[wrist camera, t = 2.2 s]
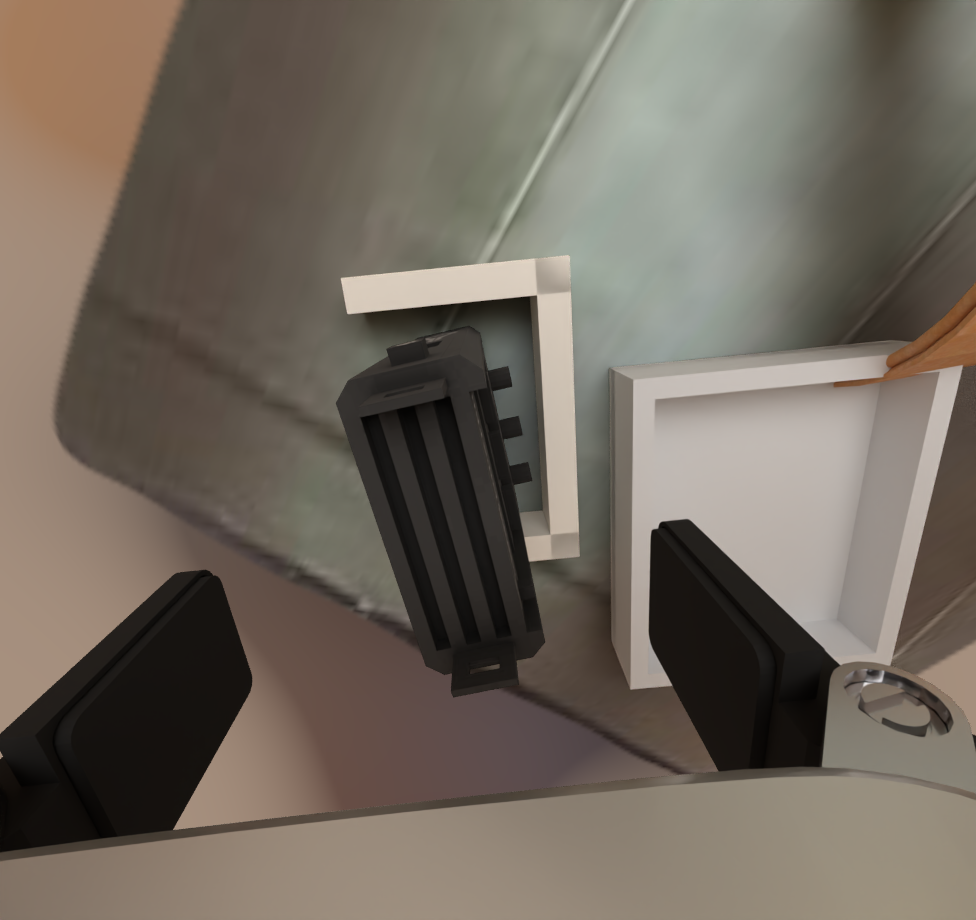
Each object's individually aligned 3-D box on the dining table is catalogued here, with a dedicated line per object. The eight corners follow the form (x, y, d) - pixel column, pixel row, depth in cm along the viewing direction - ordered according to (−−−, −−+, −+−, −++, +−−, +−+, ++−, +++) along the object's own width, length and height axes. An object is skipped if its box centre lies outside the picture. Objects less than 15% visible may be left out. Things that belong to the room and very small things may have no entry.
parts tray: (891, 340, 24) (967, 347, 21) (838, 620, 30) (890, 665, 26) (609, 367, 24) (633, 379, 21) (611, 641, 30) (630, 689, 27)
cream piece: (558, 261, 23) (569, 255, 20) (569, 530, 28) (579, 556, 25) (357, 281, 23) (340, 278, 20) (404, 546, 28) (395, 574, 25)
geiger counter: (531, 493, 27) (593, 709, 13) (456, 510, 27) (433, 740, 13) (493, 310, 23) (517, 323, 9) (407, 331, 24) (302, 374, 9)
